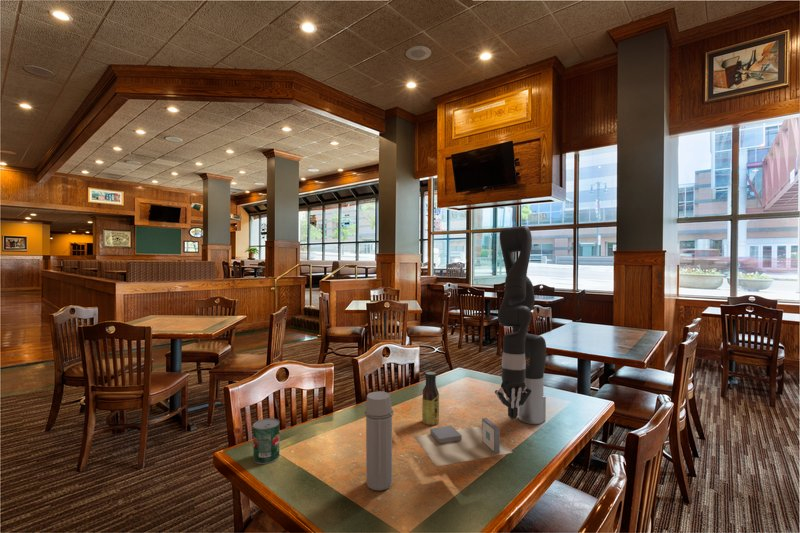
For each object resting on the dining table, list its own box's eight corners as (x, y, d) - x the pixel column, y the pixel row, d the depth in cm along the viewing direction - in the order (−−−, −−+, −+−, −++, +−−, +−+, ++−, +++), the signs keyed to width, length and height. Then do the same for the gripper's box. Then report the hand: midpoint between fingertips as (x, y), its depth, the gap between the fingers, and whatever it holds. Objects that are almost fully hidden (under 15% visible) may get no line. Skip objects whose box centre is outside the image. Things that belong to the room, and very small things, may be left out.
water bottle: (365, 477, 110) (364, 391, 109) (392, 476, 110) (392, 390, 110) (365, 497, 100) (364, 403, 100) (394, 496, 101) (394, 402, 100)
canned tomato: (250, 456, 122) (249, 422, 121) (274, 448, 126) (274, 415, 126) (257, 467, 115) (257, 431, 115) (283, 458, 120) (283, 424, 120)
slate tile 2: (486, 441, 128) (486, 417, 128) (499, 453, 120) (499, 427, 120) (481, 442, 127) (481, 418, 127) (494, 453, 120) (494, 428, 120)
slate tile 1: (451, 425, 136) (430, 428, 134) (461, 435, 128) (439, 438, 126) (451, 430, 136) (430, 433, 134) (461, 440, 128) (439, 444, 126)
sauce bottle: (438, 430, 139) (438, 376, 139) (421, 429, 141) (421, 375, 140) (439, 422, 146) (439, 371, 146) (423, 421, 147) (423, 370, 147)
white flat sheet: (480, 430, 140) (480, 426, 140) (512, 457, 121) (512, 452, 121) (413, 440, 132) (413, 436, 132) (436, 471, 113) (436, 466, 113)
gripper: (524, 361, 132) (523, 411, 132) (489, 364, 128) (489, 415, 128) (537, 367, 125) (536, 420, 125) (502, 370, 121) (501, 424, 121)
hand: (512, 418), depth 126 cm, fingers closed
